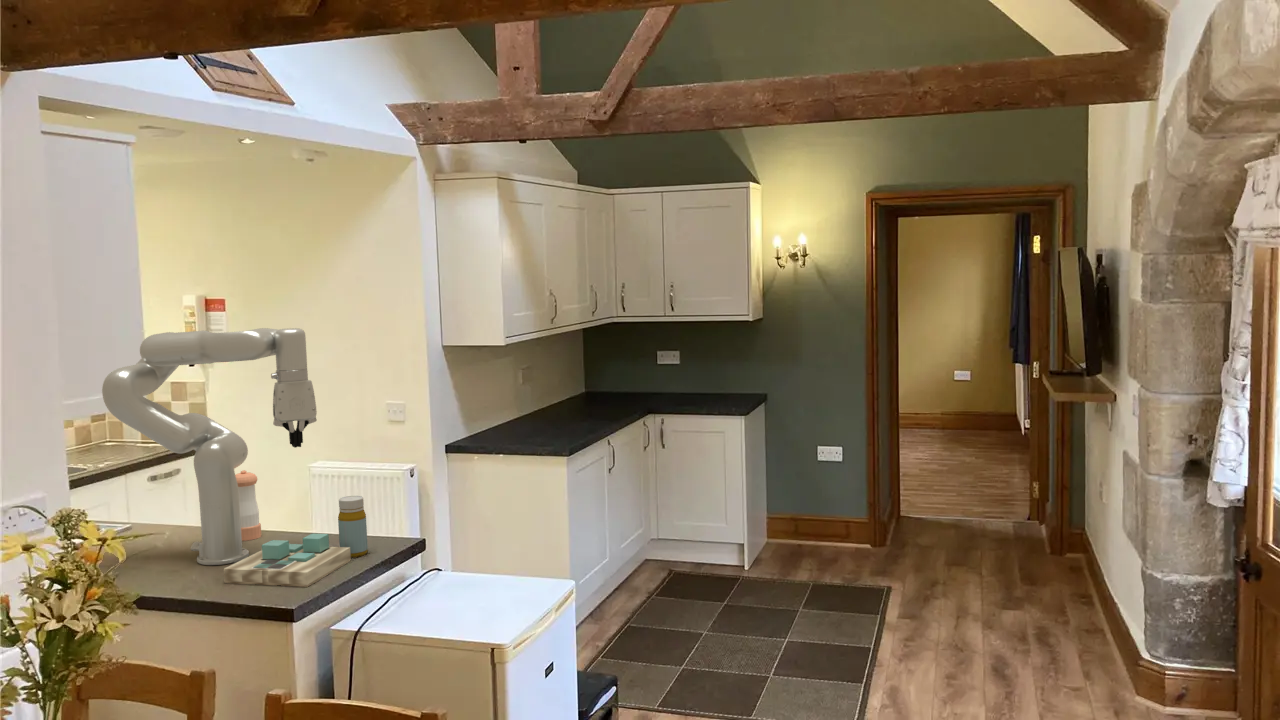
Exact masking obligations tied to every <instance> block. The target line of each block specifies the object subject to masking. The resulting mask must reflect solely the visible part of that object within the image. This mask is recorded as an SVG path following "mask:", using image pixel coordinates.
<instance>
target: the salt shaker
mask: <svg viewBox="0 0 1280 720" xmlns="http://www.w3.org/2000/svg"><path fill="white" fill-rule="evenodd" d="M235 476H236V480H237V484H238V491H239V505H240V520H241V536H242V542H244V541H251V540H252V541H253V540H257V539H259V538H261V537H262V525H261V522H260V510H259V507H258V502H257V498H256V495H257V494H256V484H257V482H258V476H257V475H256V474H255V473H253V472H247V470H240V472H239V473H235Z"/></svg>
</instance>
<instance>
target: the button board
mask: <svg viewBox="0 0 1280 720" xmlns="http://www.w3.org/2000/svg"><path fill="white" fill-rule="evenodd" d="M298 552H299V553H315V557H314V558H312V559H310V560H308V561H307V562H297V561H288V558H289V557H291V556H292V555H294V554H296V553H298ZM298 552H296V553H289V555H287V556H285V557H283V558H281V559H280V560H277V559H263V558H262V549H261V550H259V551H257V552H255V553H252V554H251V555H249V556H248V557H247V558H245V559H243V560H240V561H237V562H234V563H232V564H230V565H229V566H226V567H224V568H223V582H224V584H239V585H255V584H259V585H262V586H277V585H281V586H280V587H282V586H283V587H303V588H308V587H310V586H312V585H313V584H315V583H317V582H318V581H320V580H322V579H324V577H326V576H328V575H329V574H331V573H334V572H335V571H336V570H338V569H340V568H341V567H343V566H344V565H347V564H348V563H350V562H351V561H352V558H351V554H350V547H340V546H329V548H327V549H325V550H324V551H322V552H303V549H302V550H300V551H298ZM259 585H258V586H259Z"/></svg>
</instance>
